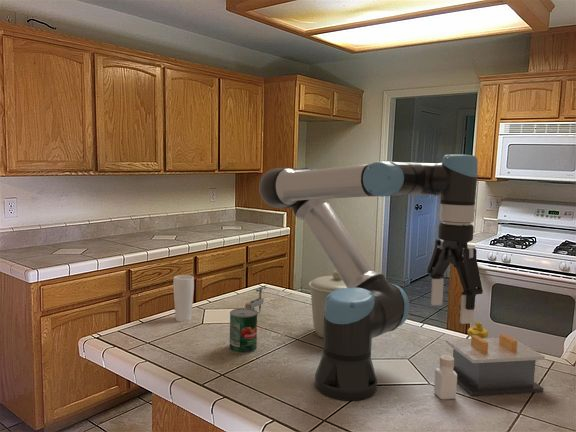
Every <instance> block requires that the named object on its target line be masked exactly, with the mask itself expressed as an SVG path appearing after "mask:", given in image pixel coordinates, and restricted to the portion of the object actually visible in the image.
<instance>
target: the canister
mask: <svg viewBox="0 0 576 432" xmlns="http://www.w3.org/2000/svg"><path fill="white" fill-rule="evenodd" d="M308 287H310V298H311V310H312V311H311V312H312V313H311V314H312V321H313V322H312V323H313V328H314V331H315V334H317V336H319V337H320V338H322V339H324V308H325V301H326V298H327V296H328V295H329V294H330V293H331V292H333V291H335V290H337V289H341V288H347V287H346V285H345V283H344V282H343V280H342V279H341V277H340V276H339V274H338V272H337V271H336V269H335V270H334V271H332V273H331V275H322V276H318V277H316V278H314V279H313V280H312V279H311V281H309V282H308Z"/></svg>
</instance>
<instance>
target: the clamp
mask: <svg viewBox="0 0 576 432" xmlns="http://www.w3.org/2000/svg"><path fill="white" fill-rule="evenodd" d="M264 289H267V286H263V287H262V286H259V287H258V288H256V290H255V291H256V292H257V293H258V292H259V293H258V294H259V295H258V298H255V299H253V300H251V301H249V302H246V303H245V307H244V308H249V309H254V310H255V308H257V307H258V312H259V313H261V310H262V305H263V304H264V298H262V292H263V290H264Z"/></svg>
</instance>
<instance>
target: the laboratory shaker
mask: <svg viewBox="0 0 576 432" xmlns="http://www.w3.org/2000/svg"><path fill="white" fill-rule="evenodd" d="M470 337H471V338H465V339H464V338H461V339H459V338H458V339H457V338H456V339H445V343H446V344H447V345H448V346H450V347H451V348H452V357H453V358H454V367H453V370H454V371H455V372H456V373H457V385H458V386H459V387H461V388H462V389H463V390H464V391H465V392H466V393H467V394H469V396H471V397H485V396H499V395H514V394H515V395H517V394H518V395H519V394H529V393H530V394H531V393H532V394H533V393H543V392H544V387H543V386H541V385H540V384H538V383H537V382H535V372H536V362H537V361H542V360H544V361H545V359H546V357H545V355H543V354H541V353H540V352H538V351H536V350H534V349H533V348H530V347H529V346H527V345H526V344H523V343H522V342H520V341H518V340H517V339H515V338H513V337H512V336H509V335H507V334H505V333H503V334H501V333H500V334H499V337H488V338H480V337H479V336H477V335H472V336H470Z"/></svg>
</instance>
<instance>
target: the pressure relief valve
mask: <svg viewBox="0 0 576 432" xmlns="http://www.w3.org/2000/svg"><path fill="white" fill-rule="evenodd" d="M482 325H483V323H482V322H479V321H476V322H475V323H474V325H473V326H472V327H469V328H468V329H467V335H468V336H469V337H471V336H472V335H477V336H479V337H480V338H487V337H488V338H489V331H487V329H486V328H484V327H483V326H482Z"/></svg>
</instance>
